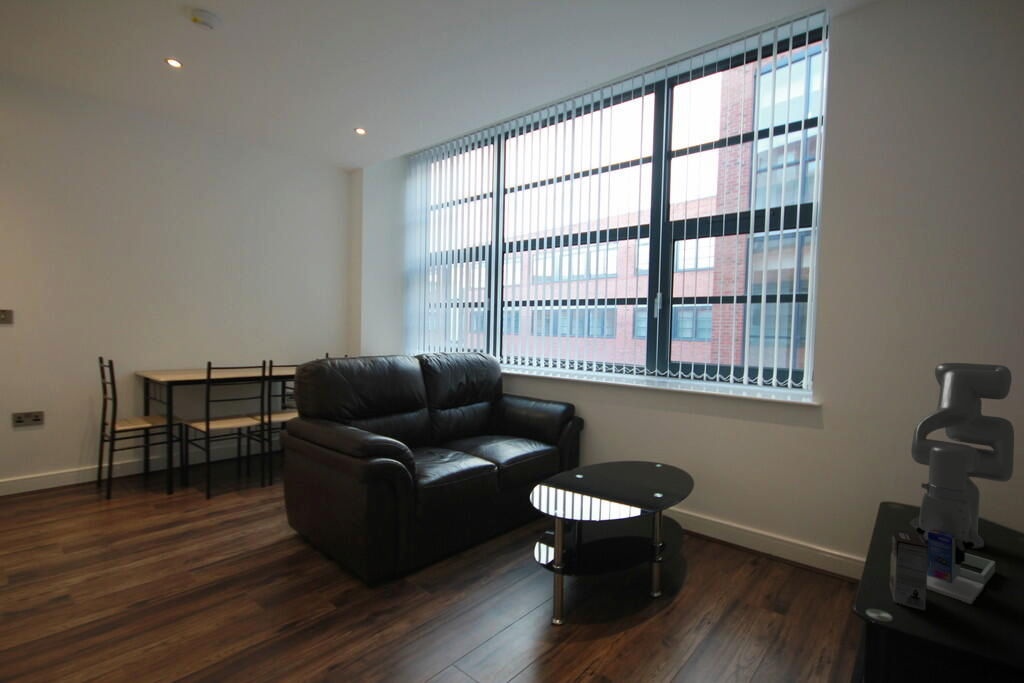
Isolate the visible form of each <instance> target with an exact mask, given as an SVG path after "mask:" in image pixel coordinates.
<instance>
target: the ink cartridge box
mask: <svg viewBox="0 0 1024 683" xmlns="http://www.w3.org/2000/svg"><path fill="white" fill-rule="evenodd" d="M928 547H929V551H928V573H927V575H928V576H931V577H934V578H937V579H940V580H943V581H945V582H948V583H953V582H954V580H955V579H956V578H957V576H958V575H959V574H960V568H961V564H960V565H957V564H956V563H955V560H956V549H957V548H958V545H957V542H956V539H955V537H954V536H953V535H949V534H946V533H942V532H938V531H933V530H930V531H929V532H928Z"/></svg>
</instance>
